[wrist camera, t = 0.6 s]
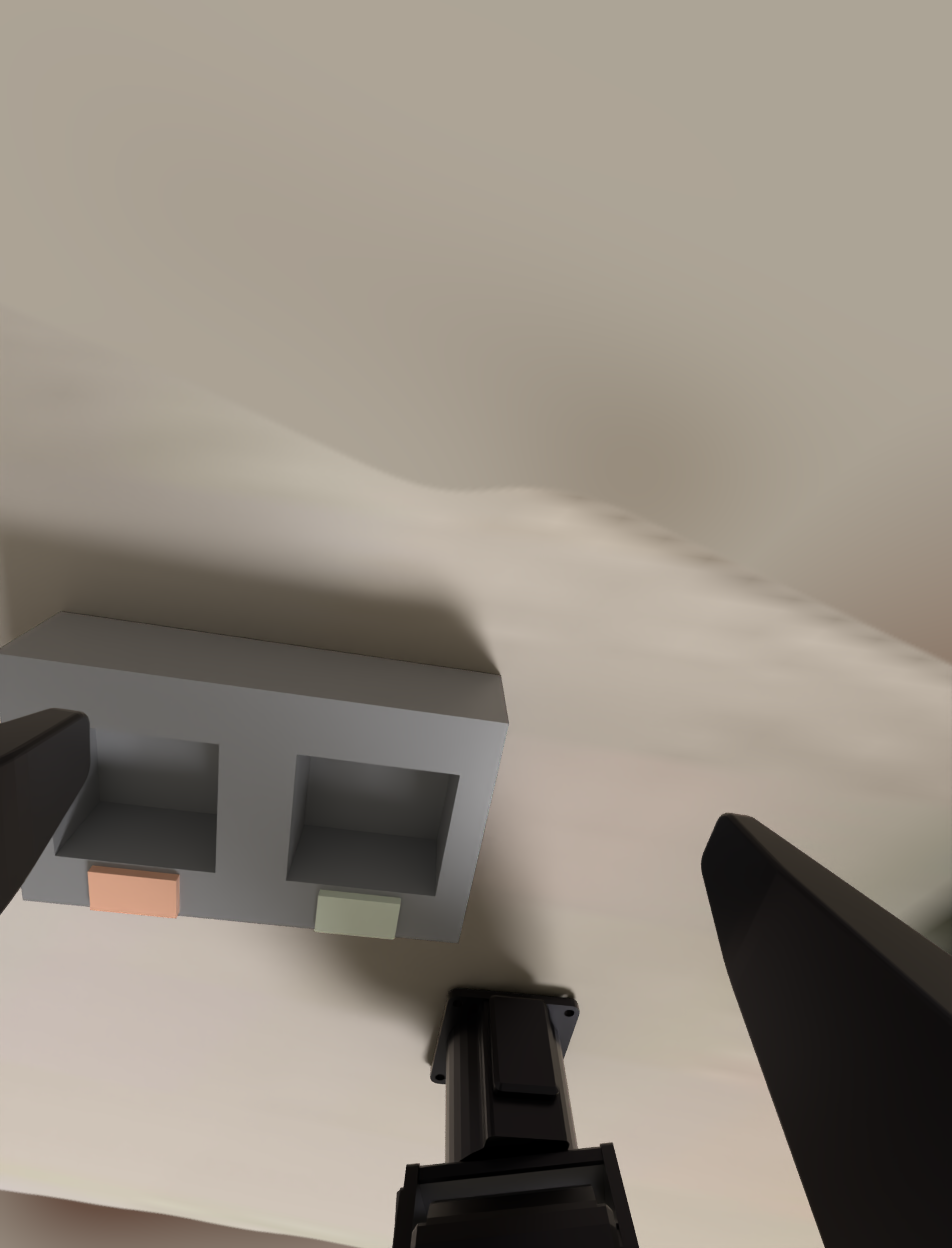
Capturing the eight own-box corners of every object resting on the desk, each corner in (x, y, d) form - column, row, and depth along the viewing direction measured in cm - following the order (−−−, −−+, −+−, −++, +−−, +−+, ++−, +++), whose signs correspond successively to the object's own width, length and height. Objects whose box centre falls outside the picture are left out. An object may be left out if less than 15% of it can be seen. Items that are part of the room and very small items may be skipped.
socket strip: (457, 875, 27) (458, 950, 24) (77, 833, 25) (17, 907, 22) (500, 675, 23) (509, 728, 20) (60, 611, 22) (-15, 656, 18)
